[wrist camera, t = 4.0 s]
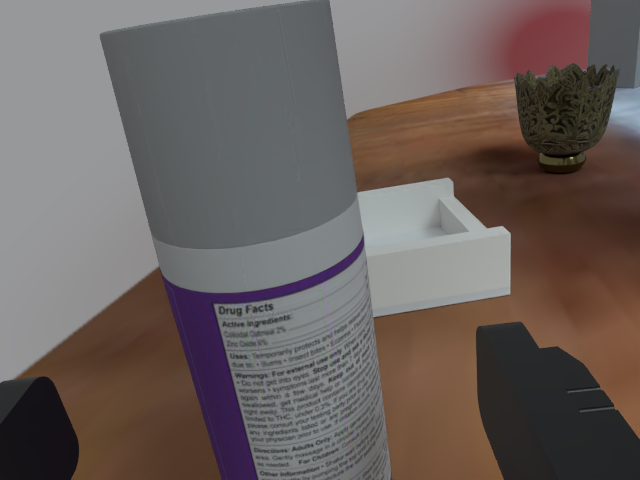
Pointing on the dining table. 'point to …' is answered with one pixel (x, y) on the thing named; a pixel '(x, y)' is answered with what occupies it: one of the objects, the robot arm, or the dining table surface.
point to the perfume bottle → (616, 39)
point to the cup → (565, 113)
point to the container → (258, 234)
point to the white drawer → (429, 249)
